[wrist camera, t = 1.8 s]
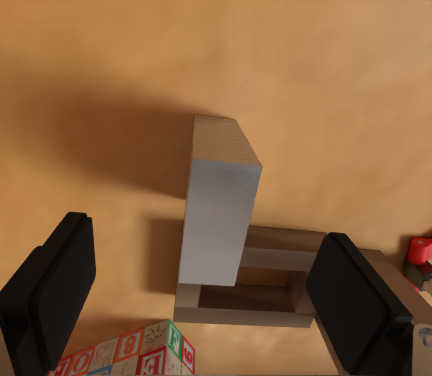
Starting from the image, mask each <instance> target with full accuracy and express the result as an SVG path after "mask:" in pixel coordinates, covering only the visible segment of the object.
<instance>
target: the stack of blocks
mask: <svg viewBox="0 0 432 376" xmlns="http://www.w3.org/2000/svg"><path fill="white" fill-rule="evenodd" d="M194 374H195V350H194V348H193V347H192V346H191V345H190V343H189V342H188V341H187V340H186V338H185V337H184V336H183V335H182V334H181V333H180V332H179V330H178V329H177V328H176V327H175V325H174V324H173V323H172V321H171V320H170V319H168V320H165V321H162V322H160V323H157V324H154V325H151V326H148V327H146V328H141V329H138V330H136V331H133V332H130V333H127V334H124V335H122V336H119V337H116V338H113V339H110V340H108V341H105V342H102V343H99V344H97V345H96V346H93V347H91V348H88V349H85V350H83V351H80V352H77V353H75V354H73V355H70V356H67V357H64V358H62V359H60V361H59V363H58V365H57V367H56V369H55V370H54V371H49V373H48V375H47V376H93V375H194Z"/></svg>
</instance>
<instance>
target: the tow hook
mask: <svg viewBox="0 0 432 376" xmlns="http://www.w3.org/2000/svg"><path fill="white" fill-rule="evenodd" d="M428 259H432V238H429V239H424V238H419V237H416V238H413V239H412V240H411V245H410V250H409V255H408V257H407V258H406V264H405V269H404V275H405V276H404V278H405V279H406V280H407V281H408V282H409V283H410V284H411V285H412V286H413V287H414V288H415V290H416V291H417V292H418V293H419V291H421V292H422V291H427V292H428V293H429V294H430V295H431V296H432V265H431V264H430V263H429V262H428V261H427V260H428Z"/></svg>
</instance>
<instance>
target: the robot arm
mask: <svg viewBox="0 0 432 376" xmlns="http://www.w3.org/2000/svg"><path fill="white" fill-rule="evenodd" d="M95 275H96V264H95V251H94V238H93V225H92V218H91V217H87V214H86V213H79V212H68V213H67V214H66V216H65V217H64V218H63V220H62V221H61V222H60V224H59V225H58V226H57V227H56V229H55V230H54V231H53V233H52V234H51V235H50V237H49V238H48V239H47V240H46V242H45V243H44V244H43V246H38V247H36V248H35V249H34V250H33V251H32V252H31V254H30V255H29V256H28V257H27V259H26V260H25V261H24V262H23V264H22V265H21V266H20V267H19V269H18V270H17V271H16V272H15V274H14V275H13V276H12V277H11V279H10V280H9V281H8V282H7V284H6V285H5V286H4V287H3V289H2V290H1V291H0V376H47V375H48V373H49V371H54V370H55V369H56V367H57V365H58V363H59V361H60V359H61V356H62V354H63V352H64V349H65V347H66V345H67V342H68V340H69V338H70V335H71V333H72V331H73V328H74V326H75V324H76V321H77V319H78V317H79V314H80V312H81V310H82V308H83V305H84V303H85V301H86V298H87V296H88V294H89V291H90V289H91V287H92V284H93V282H94V279H95ZM306 290H307V293H308V295H309V297H310V299H311V301H312V303H313V305H314V308H315V310H316V312H317V314H318V316H319V318H320V320H321V323H322V325H323V327H324V329H325V331H326V333H327V335H328V338H329V340H330V342H331V344H332V346H333V348H334V350H335V353H336V355H337V357H338V359H339V361H340V363H341V365H342V367H343V369H344V370H345V371H346V372H348V374H349V376H432V325H428V324H417V325H416V326H414V325H413V324H412V323H411V320H412V319H413V315H412V314H411V313H410V312H409V311H408V309H407V308H406V307H405V306H404V304H403V303H402V302H401V301H400V300H399V298H398V297H397V296H396V295H395V293H394V292H393V291H392V290H391V289H390V287H389V286H388V285H387V284H386V283H385V281H384V280H383V279H382V278H381V276H380V275H379V274H378V273H377V272H376V270H375V269H374V268H373V267H372V265H371V264H370V263H369V262H368V261H367V259H366V258H365V257H364V256H363V254H362V253H361V252H360V251H359V250H358V248H357V247H356V246H355V245H354V243H353V242H352V241H351V240H350V239H349V237H348V236H347V235H346V234H344V233H335V232H330V233H329V234H328V235H326V236H324V238H323V240H322V243H321V245H320V248H319V250H318V253H317V255H316V258H315V260H314V263H313V265H312V268H311V270H310V273H309V275H308V278H307V280H306ZM93 376H345V375H93Z"/></svg>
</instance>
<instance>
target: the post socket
mask: <svg viewBox="0 0 432 376" xmlns="http://www.w3.org/2000/svg"><path fill="white" fill-rule="evenodd" d="M183 226H184V221H183ZM326 235H327V233H322V232H311V231H299V230H288V229H277V228H265V227H254V226H248V230H247V235H246V239H245V243H244V247H243V252H242V256H241V260H240V264H239V267H250V268H265V269H279V270H291V273H290V276H289V279H288V282H287V285H286V287H273V286H257V285H241V284H235V285H234V286H221V285H205V284H188V283H178V282H179V271H180V259H181V249H180V258H179V268H178V277H177V286H176V296H175V306H174V317H173V322H185V323H207V324H230V325H253V326H276V327H299V328H309V327H310V325H311V323H312V321H313V319H314V318H315V321H316V323H317V325H318V328H319V330H320V332H321V334H322V337H323V339H324V341H325V344H326V346H327V348H328V350H329V353H330V355H331V357H332V360H333V362H334V364H335V366H336V369H337V371H338V373H339V375H345V376H349V374H348V372H346V371H345V370H344V369H343V367H342V365H341V363H340V361H339V359H338V357H337V355H336V353H335V350H334V348H333V346H332V344H331V342H330V340H329V338H328V335H327V333H326V331H325V329H324V327H323V325H322V323H321V320H320V318H319V316H318V314H317V312H316V310H315V308H314V305H313V303H312V301H311V299H310V297H309V295H308V293H307V290H306V280H307V278H308V275H309V273H310V270H311V268H312V265H313V263H314V260H315V258H316V255H317V253H318V250H319V248H320V245H321V243H322V240H323V238H324V236H326ZM182 237H183V230H182ZM181 248H182V240H181ZM358 250H359V251H360V252H361V253H362V254H363V256H364V257H365V258H366V259H367V261H368V262H369V263H370V264H371V265H372V267H373V268H374V269H375V270H376V272H377V273H378V274H379V275H380V276H381V278H382V279H383V280H384V281H385V283H386V284H387V285H388V286H389V287H390V289H391V290H392V291H393V292H394V293H395V295H396V296H397V297H398V298H399V300H400V301H401V302H402V303H403V304H404V306H405V307H406V308H407V309H408V311H409V312H410V313H411V314H412V315H413V319H412V320H411V323H412V324H413V325H414V326H416V325H417V324H428V325H432V307H431V306H430V305H429V304H428V303H427V301H426V300H425V299H424V298H423V297H422V296H421V295H420V294H419V293H418V292H417V291H416V290H415V288H414V287H413V286H412V285H411V284H410V283H409V282H408V281H407V280H406V279H405V278H404V276H403V275H402V274H401V273H400V272H399V271H398V270H397V269H396V268H395V267H394V266H393V265H392V263H391V262H390V261H389V260H388V259H387V258H386V257H385V256H384V255H383V254H382V253H381V252H380V251H378V250H365V249H358Z"/></svg>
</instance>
